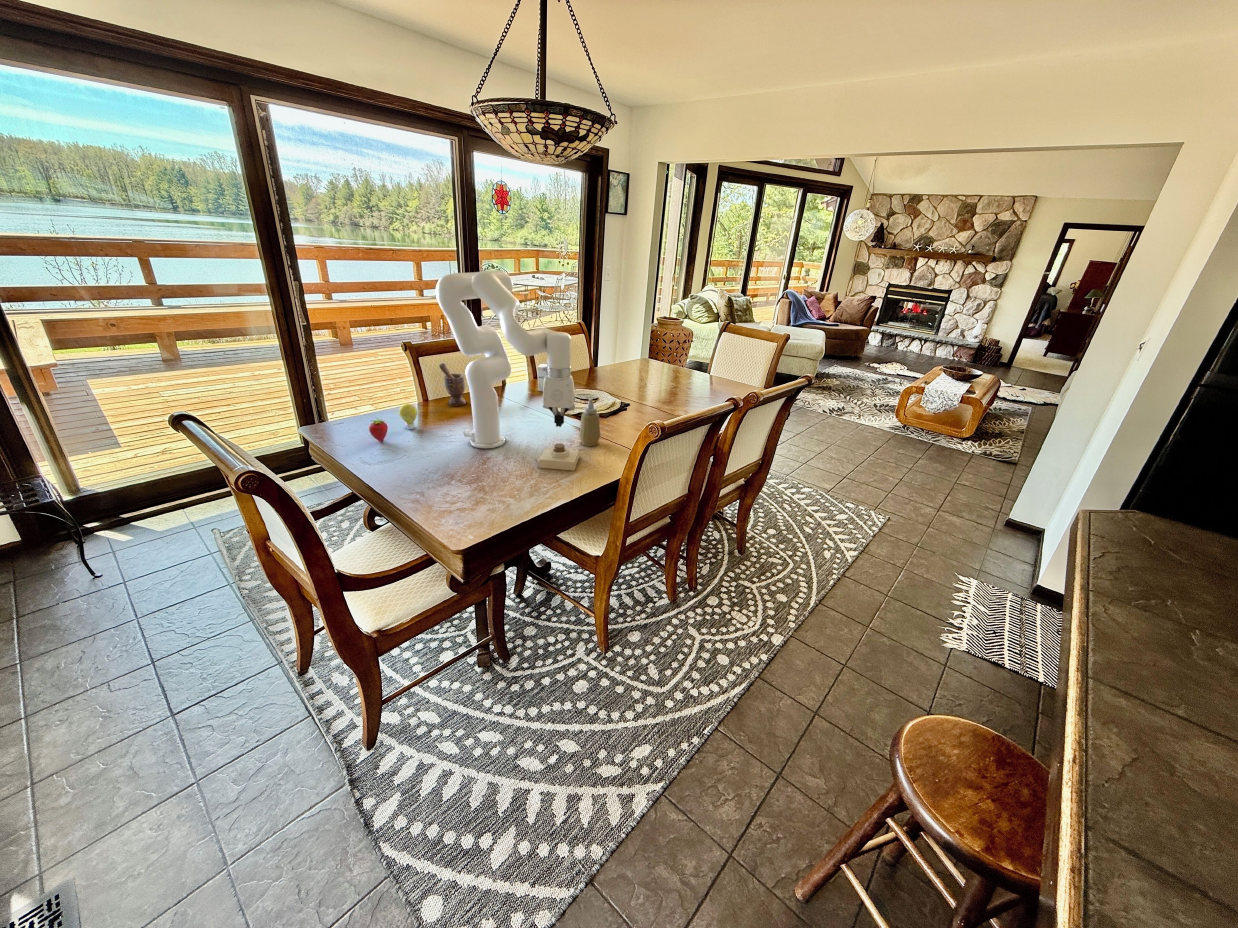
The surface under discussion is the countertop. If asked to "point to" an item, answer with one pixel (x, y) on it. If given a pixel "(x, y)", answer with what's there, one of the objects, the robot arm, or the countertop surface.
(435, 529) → the countertop surface
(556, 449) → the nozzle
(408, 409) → the light bulb
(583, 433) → the squeeze bottle
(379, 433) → the strawberry
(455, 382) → the mortar and pestle
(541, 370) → the white packaging box
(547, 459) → the beige push button box
